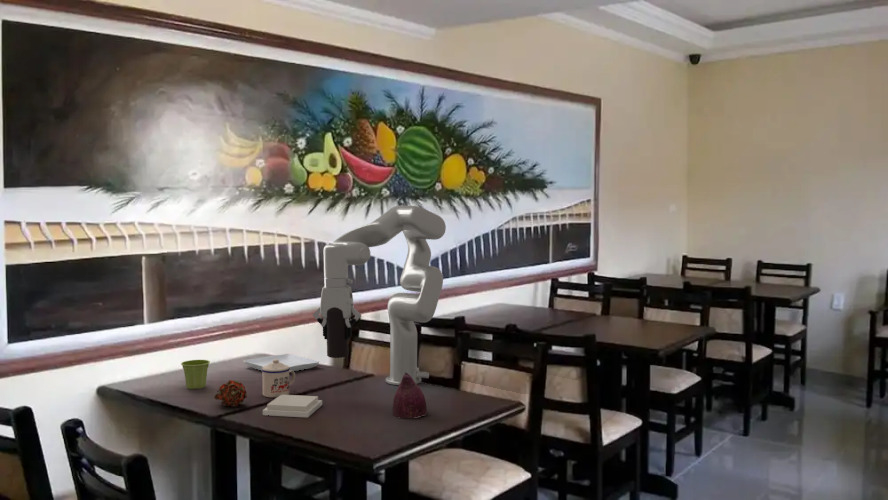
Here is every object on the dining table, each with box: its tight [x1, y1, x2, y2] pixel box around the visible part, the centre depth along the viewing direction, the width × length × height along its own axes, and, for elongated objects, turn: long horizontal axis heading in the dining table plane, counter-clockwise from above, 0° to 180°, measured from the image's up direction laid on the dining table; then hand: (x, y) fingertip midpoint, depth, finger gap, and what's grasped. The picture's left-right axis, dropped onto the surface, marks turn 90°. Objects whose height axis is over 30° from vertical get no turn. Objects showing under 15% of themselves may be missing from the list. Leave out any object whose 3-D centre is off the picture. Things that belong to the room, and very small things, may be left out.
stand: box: [262, 394, 323, 419], centre depth 235 cm, size 14×14×3 cm
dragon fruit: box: [213, 379, 248, 408], centre depth 240 cm, size 8×8×12 cm
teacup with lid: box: [261, 359, 297, 399], centre depth 254 cm, size 12×9×12 cm
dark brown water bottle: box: [326, 307, 349, 359], centre depth 245 cm, size 7×7×20 cm
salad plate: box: [243, 353, 320, 372], centre depth 292 cm, size 21×21×3 cm
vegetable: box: [391, 372, 428, 419], centre depth 230 cm, size 10×10×15 cm
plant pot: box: [180, 359, 211, 390], centre depth 262 cm, size 9×9×9 cm
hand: (337, 338), depth 245 cm, fingers closed on dark brown water bottle, 6 cm apart
